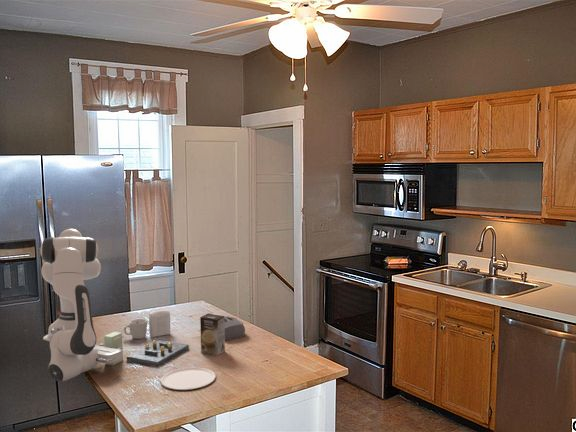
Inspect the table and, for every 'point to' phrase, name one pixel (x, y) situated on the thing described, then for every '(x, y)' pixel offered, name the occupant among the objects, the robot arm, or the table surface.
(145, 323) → the cup
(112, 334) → the block
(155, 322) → the photo printer
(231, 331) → the soft grey pack
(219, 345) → the coffee box
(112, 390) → the table surface
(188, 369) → the plate
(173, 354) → the chassis
